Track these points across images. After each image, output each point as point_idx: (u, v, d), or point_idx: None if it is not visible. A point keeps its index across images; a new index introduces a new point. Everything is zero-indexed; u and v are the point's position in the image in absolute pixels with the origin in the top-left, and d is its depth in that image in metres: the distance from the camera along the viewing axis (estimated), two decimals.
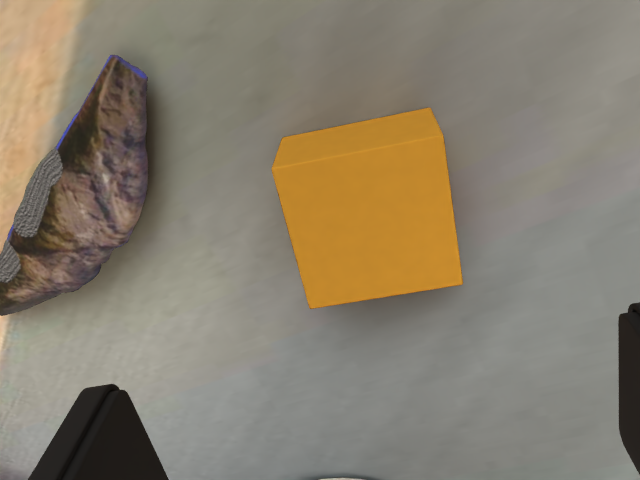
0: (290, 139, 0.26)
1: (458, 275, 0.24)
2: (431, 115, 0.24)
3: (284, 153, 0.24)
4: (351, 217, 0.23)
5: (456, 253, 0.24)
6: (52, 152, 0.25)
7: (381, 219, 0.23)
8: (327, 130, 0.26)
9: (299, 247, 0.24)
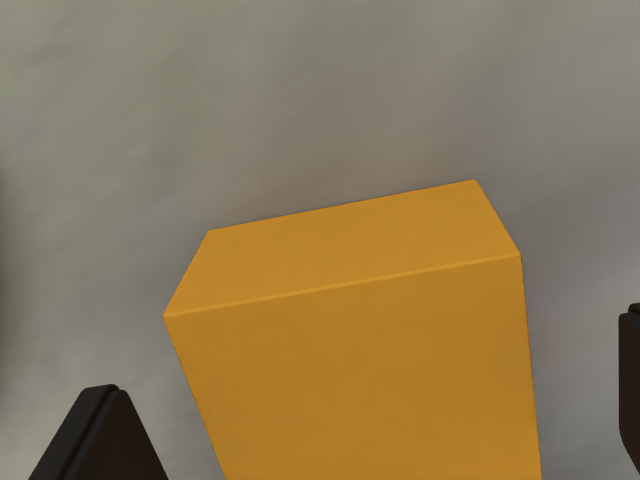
0: (219, 235, 0.14)
1: None
2: (482, 198, 0.13)
3: (198, 273, 0.12)
4: (329, 405, 0.12)
5: (536, 470, 0.12)
6: None
7: (389, 410, 0.12)
8: (287, 220, 0.14)
9: (228, 455, 0.12)
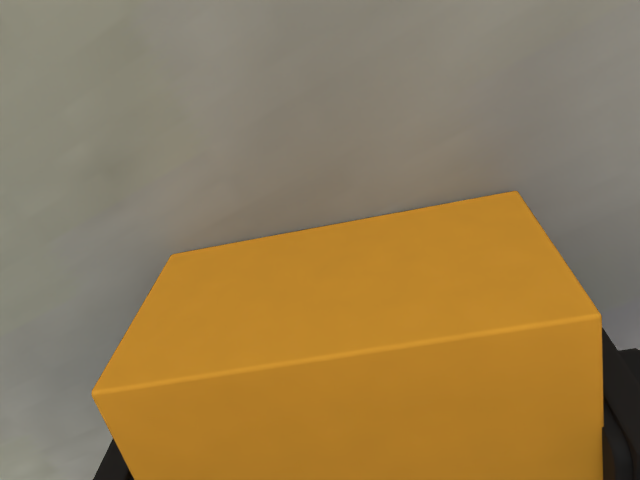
0: (184, 263, 0.11)
1: None
2: (530, 220, 0.09)
3: (148, 322, 0.09)
4: None
5: None
6: None
7: None
8: (271, 243, 0.11)
9: None
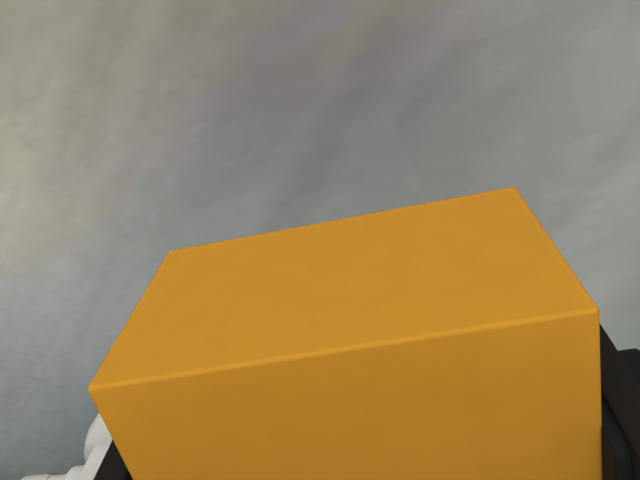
0: (181, 260, 0.11)
1: None
2: (528, 215, 0.09)
3: (146, 319, 0.09)
4: None
5: None
6: None
7: None
8: (269, 239, 0.11)
9: None
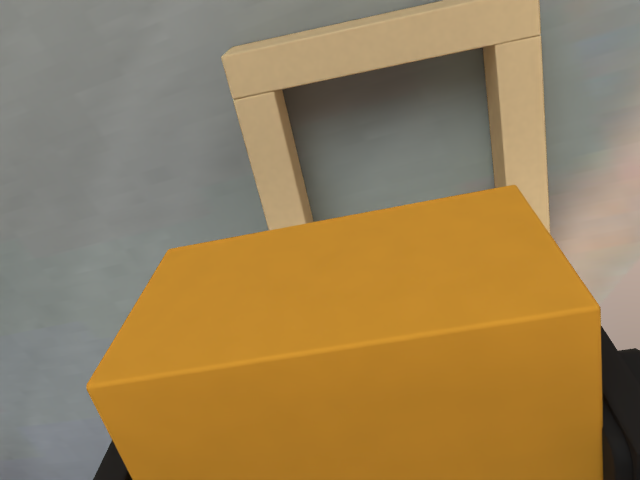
0: (181, 257, 0.11)
1: None
2: (529, 213, 0.09)
3: (144, 316, 0.09)
4: None
5: None
6: None
7: None
8: (269, 237, 0.11)
9: None
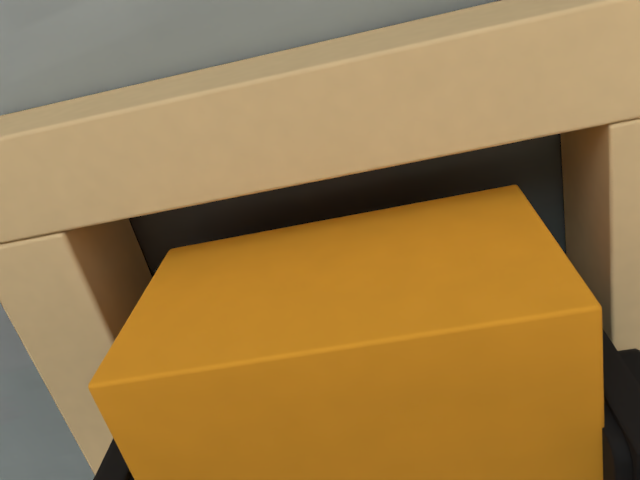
0: (182, 257, 0.11)
1: None
2: (530, 213, 0.09)
3: (146, 316, 0.09)
4: None
5: None
6: None
7: None
8: (270, 237, 0.11)
9: None
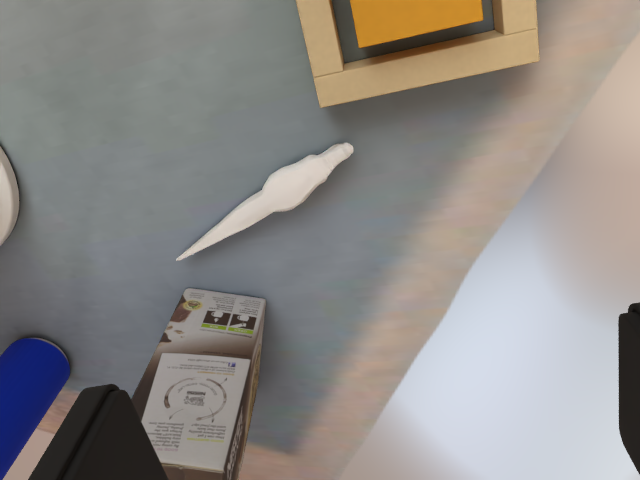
0: None
1: (479, 11, 0.30)
2: None
3: None
4: None
5: None
6: None
7: None
8: None
9: None
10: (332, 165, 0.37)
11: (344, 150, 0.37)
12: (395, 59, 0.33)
